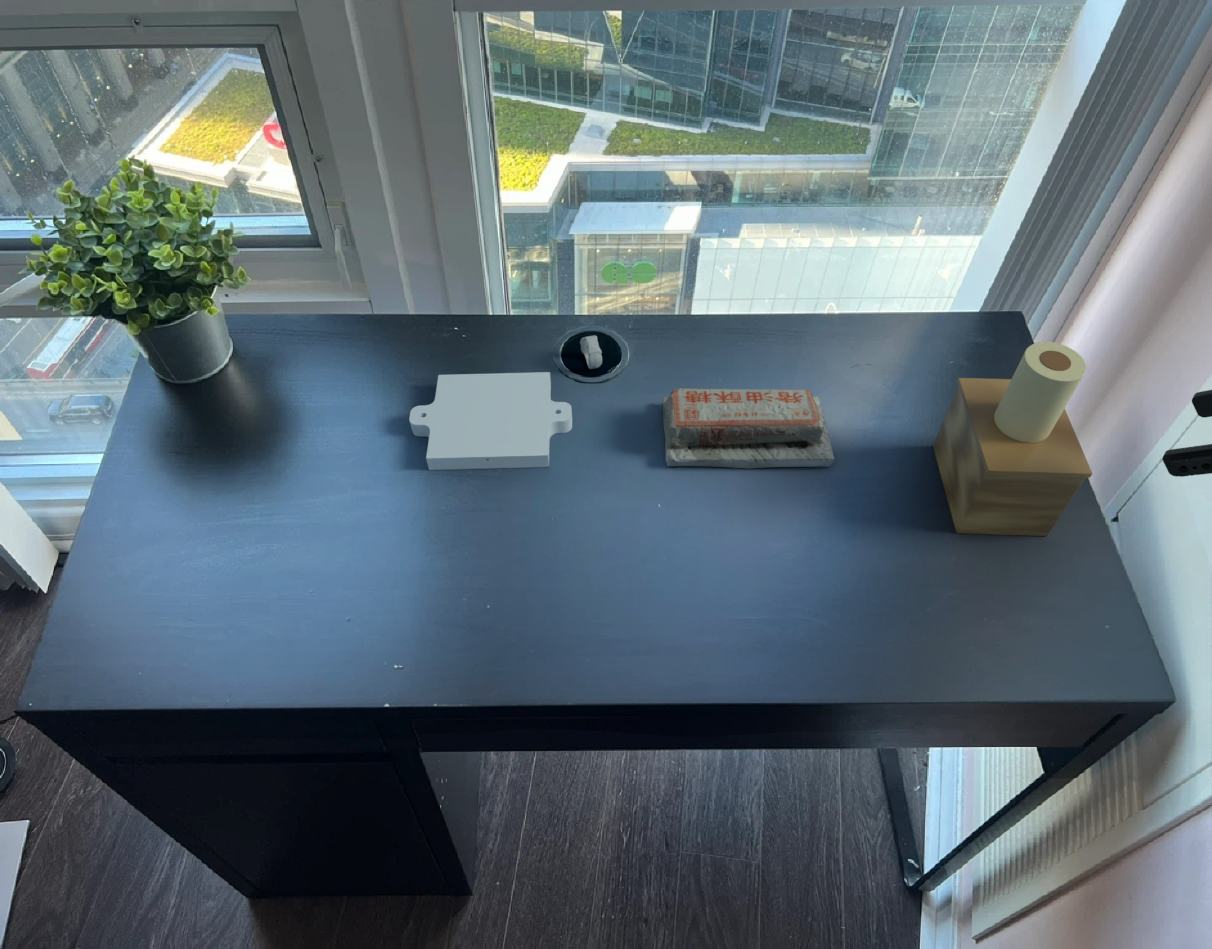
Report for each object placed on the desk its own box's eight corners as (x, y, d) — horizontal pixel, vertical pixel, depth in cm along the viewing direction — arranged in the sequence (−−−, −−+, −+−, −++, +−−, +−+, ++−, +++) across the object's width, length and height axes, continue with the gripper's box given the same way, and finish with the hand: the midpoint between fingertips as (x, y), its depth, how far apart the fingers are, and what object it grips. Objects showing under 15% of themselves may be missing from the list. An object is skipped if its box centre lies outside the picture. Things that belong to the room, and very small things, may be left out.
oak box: (1049, 538, 84) (1093, 473, 77) (954, 535, 85) (988, 470, 77) (1016, 446, 92) (1052, 380, 85) (930, 444, 93) (958, 377, 85)
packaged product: (667, 439, 87) (663, 373, 93) (665, 469, 91) (661, 404, 97) (842, 438, 87) (826, 372, 93) (832, 469, 90) (818, 403, 97)
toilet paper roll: (1042, 450, 79) (1079, 388, 72) (987, 429, 80) (1017, 366, 74) (1056, 416, 81) (1092, 353, 75) (1002, 396, 83) (1033, 333, 77)
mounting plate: (405, 470, 91) (402, 458, 89) (419, 387, 99) (416, 375, 98) (572, 466, 91) (571, 454, 90) (572, 383, 99) (571, 371, 98)
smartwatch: (604, 373, 100) (604, 347, 97) (587, 376, 100) (586, 350, 97) (597, 354, 103) (596, 328, 100) (580, 357, 102) (579, 331, 99)
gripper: (1443, 296, 60) (1187, 352, 73) (1416, 407, 52) (1137, 447, 66) (1475, 383, 61) (1219, 422, 75) (1453, 502, 54) (1174, 522, 68)
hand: (1181, 434), depth 70 cm, fingers open, 8 cm apart
